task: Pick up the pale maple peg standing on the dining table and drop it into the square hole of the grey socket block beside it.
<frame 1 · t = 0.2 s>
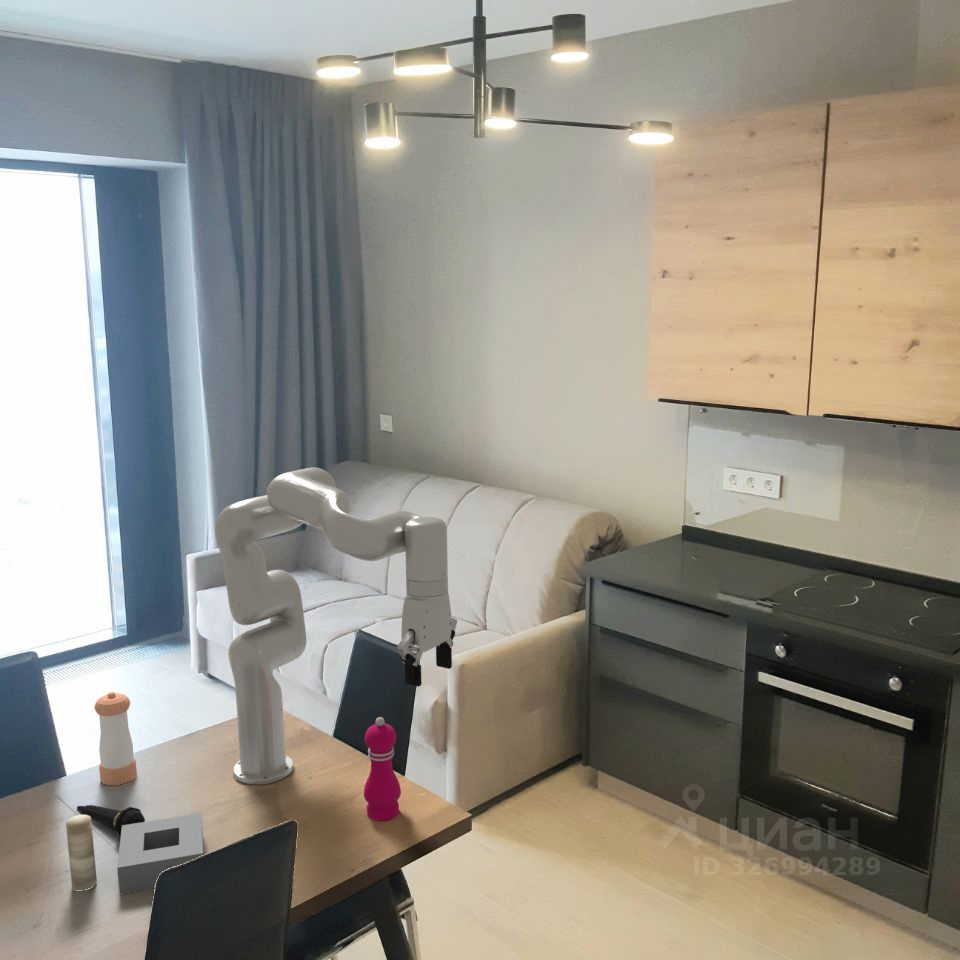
hand: (429, 675, 175), 31 cm above the table, tool pointing down, fingers open, 9 cm apart
salt shaker: (118, 778, 203), on the table
pepper mill: (383, 813, 187), on the table
socket block: (163, 864, 171), on the table
microphone: (112, 824, 185), on the table
peg: (84, 884, 165), on the table
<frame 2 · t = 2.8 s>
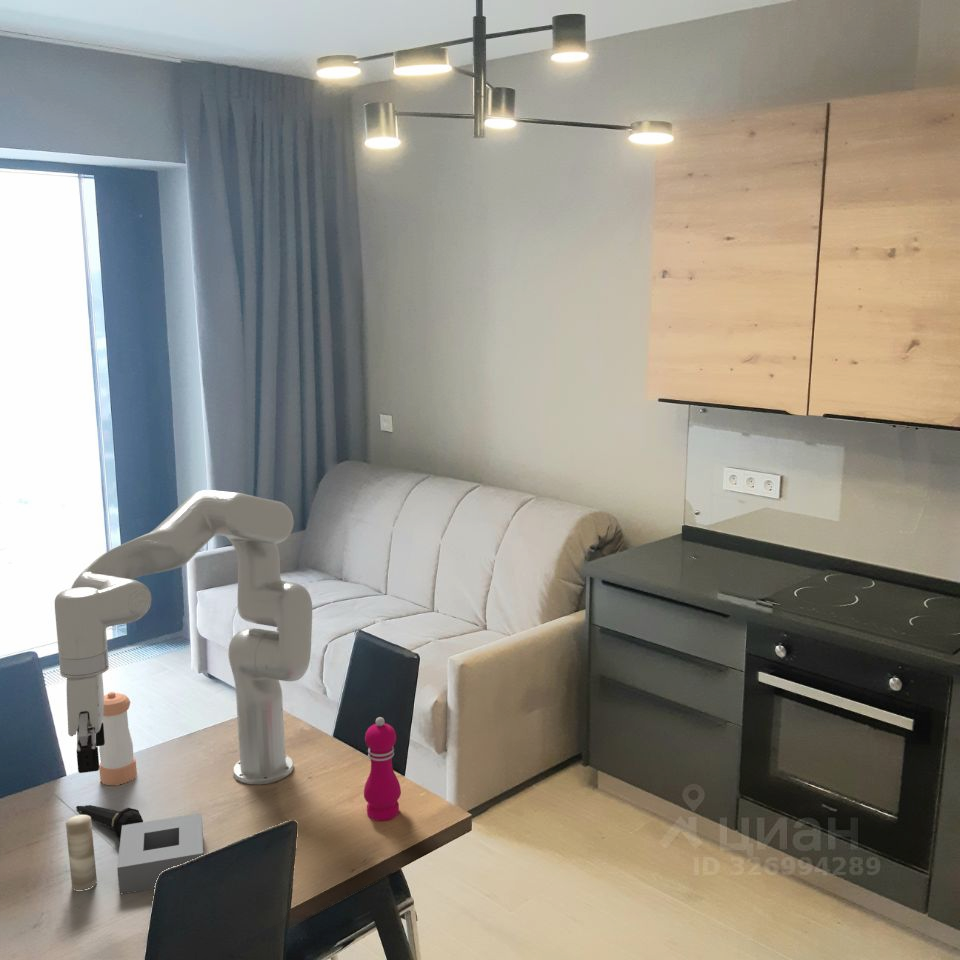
hand: (92, 758, 162), 23 cm above the table, tool pointing down, fingers open, 9 cm apart
nothing on the table moved.
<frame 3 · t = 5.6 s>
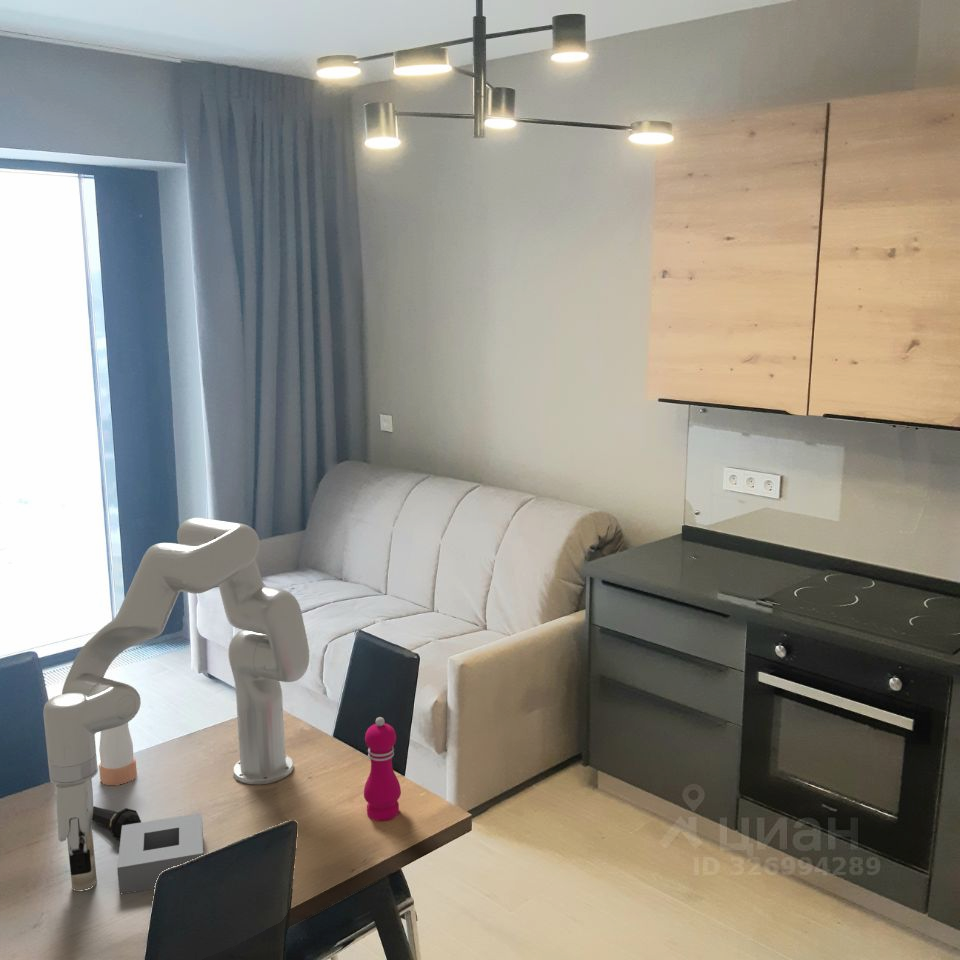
hand: (82, 864, 165), 4 cm above the table, tool pointing down, fingers closed on peg, 4 cm apart
peg: (84, 884, 165), on the table, touching gripper
everything else where it was.
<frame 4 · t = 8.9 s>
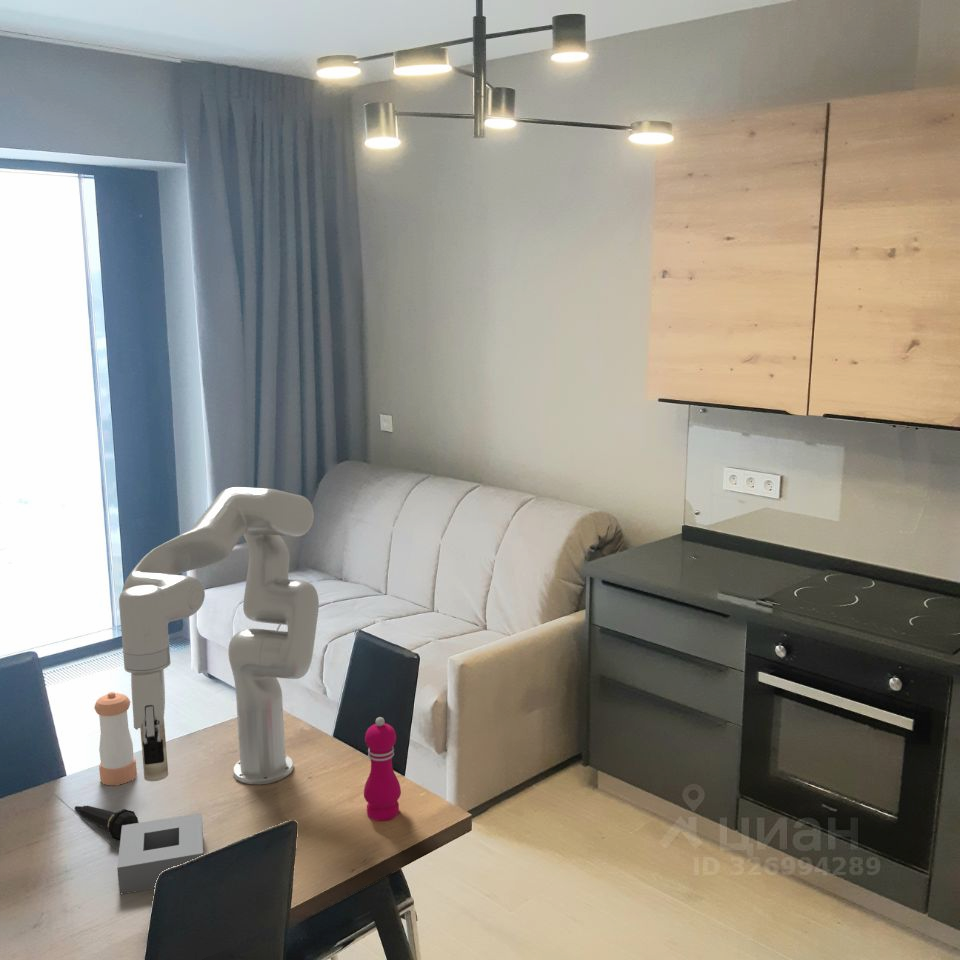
hand: (154, 755, 167), 21 cm above the table, tool pointing down, fingers closed on peg, 4 cm apart
peg: (156, 775, 168), point 17 cm above the table, touching gripper
everything else where it was.
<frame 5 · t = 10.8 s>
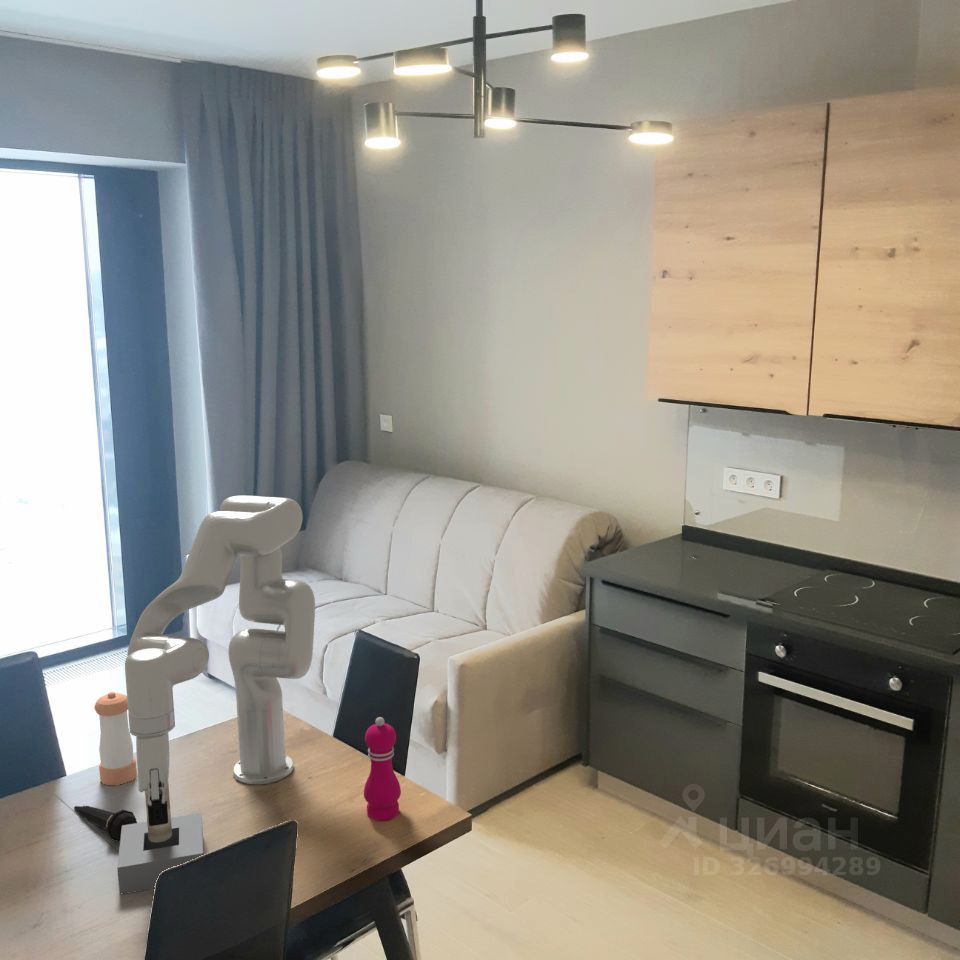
hand: (158, 816, 169), 9 cm above the table, tool pointing down, fingers closed on peg, 4 cm apart
peg: (160, 836, 170), point 6 cm above the table, touching gripper
when the fingers open (7 cm above the table, at t = 12.2 s): peg drops 3 cm, resting in socket block.
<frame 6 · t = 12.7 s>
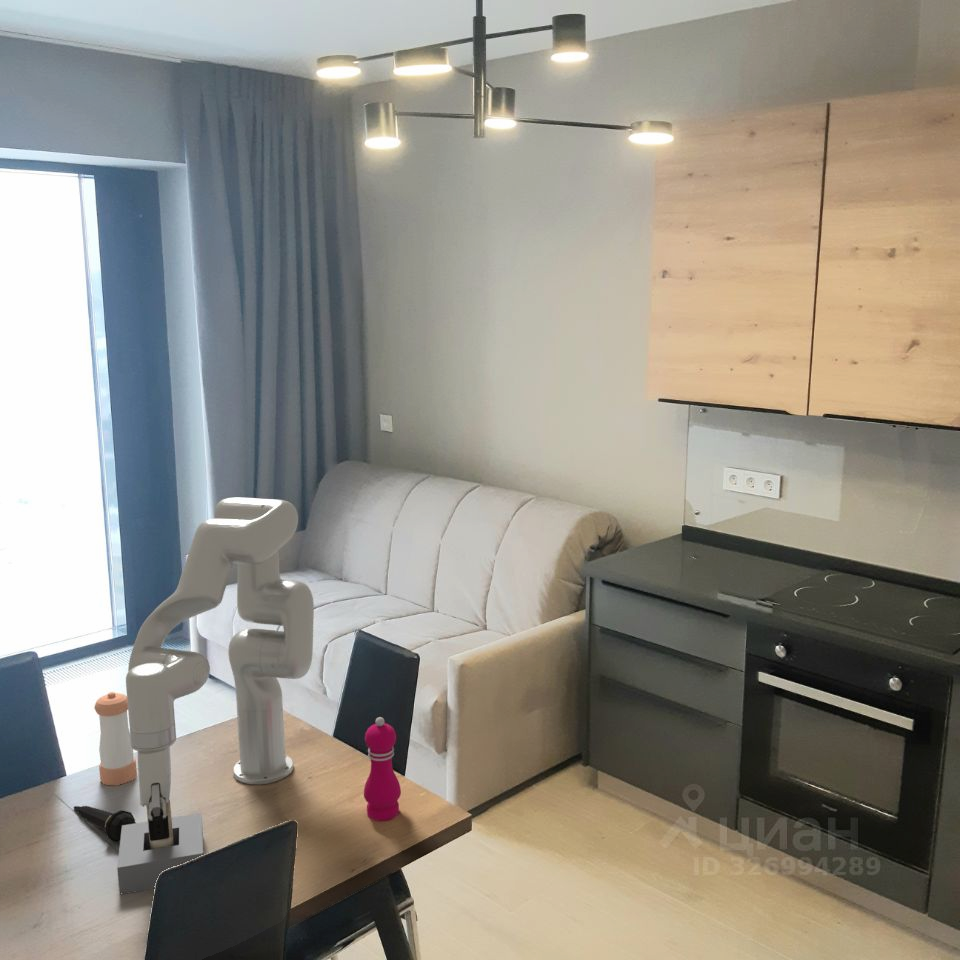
hand: (160, 824, 169), 8 cm above the table, tool pointing down, fingers open, 9 cm apart
peg: (163, 864, 171), resting in socket block
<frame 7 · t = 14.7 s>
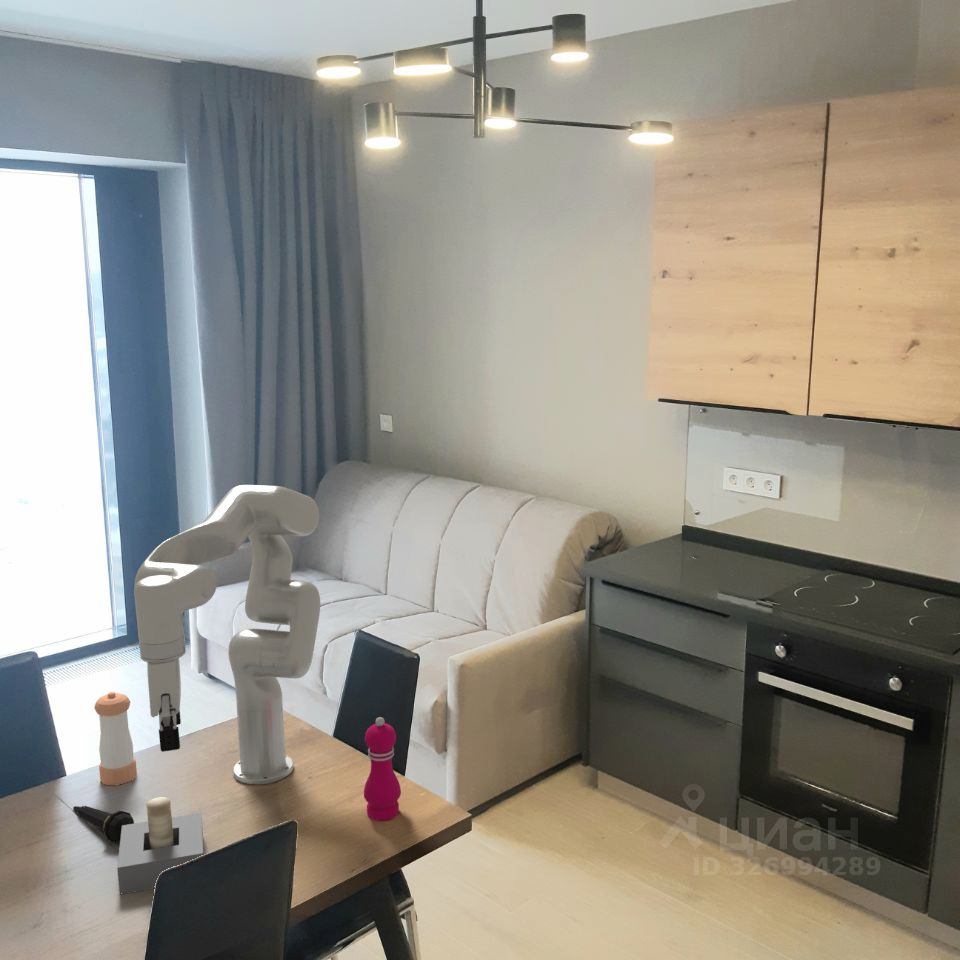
hand: (171, 737, 170), 23 cm above the table, tool pointing down, fingers open, 9 cm apart
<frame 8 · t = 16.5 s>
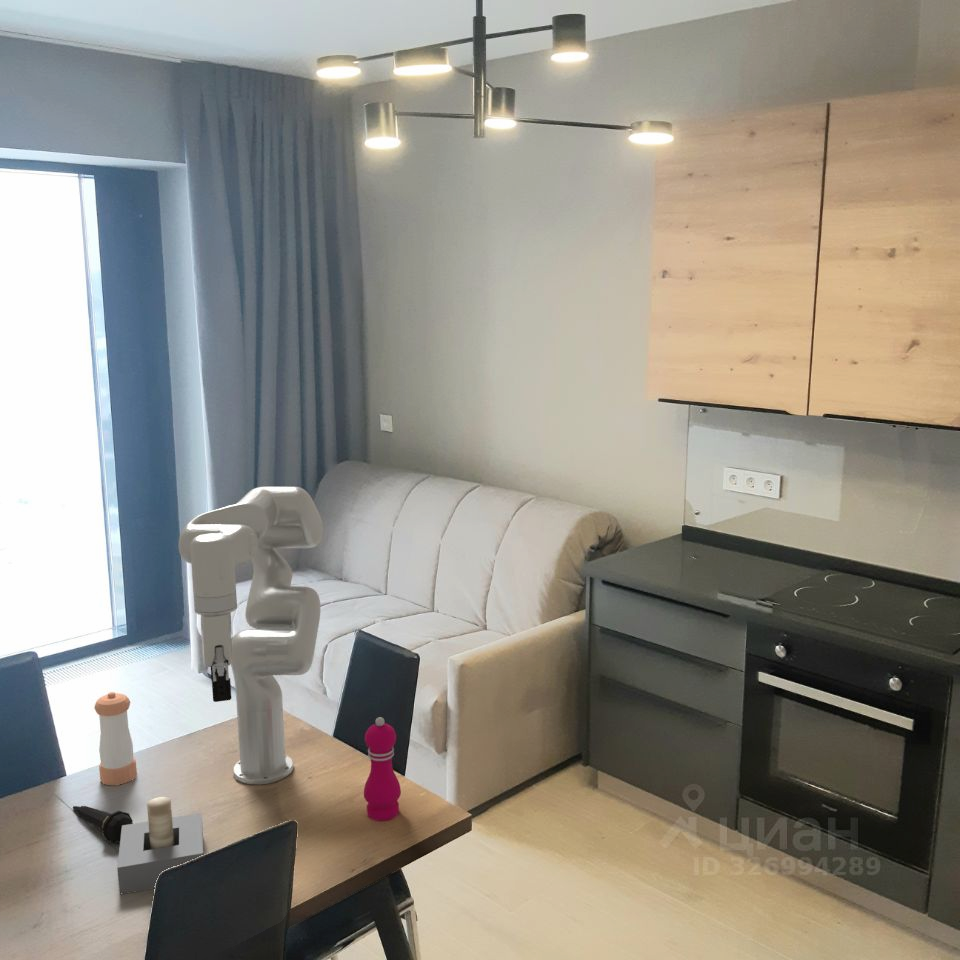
hand: (221, 690, 177), 28 cm above the table, tool pointing down, fingers open, 9 cm apart
at the end: peg 0.0 cm off-centre on the socket block, point 0.0 cm above the socket block's base; peg tilted 0°; the gripper is holding nothing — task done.
